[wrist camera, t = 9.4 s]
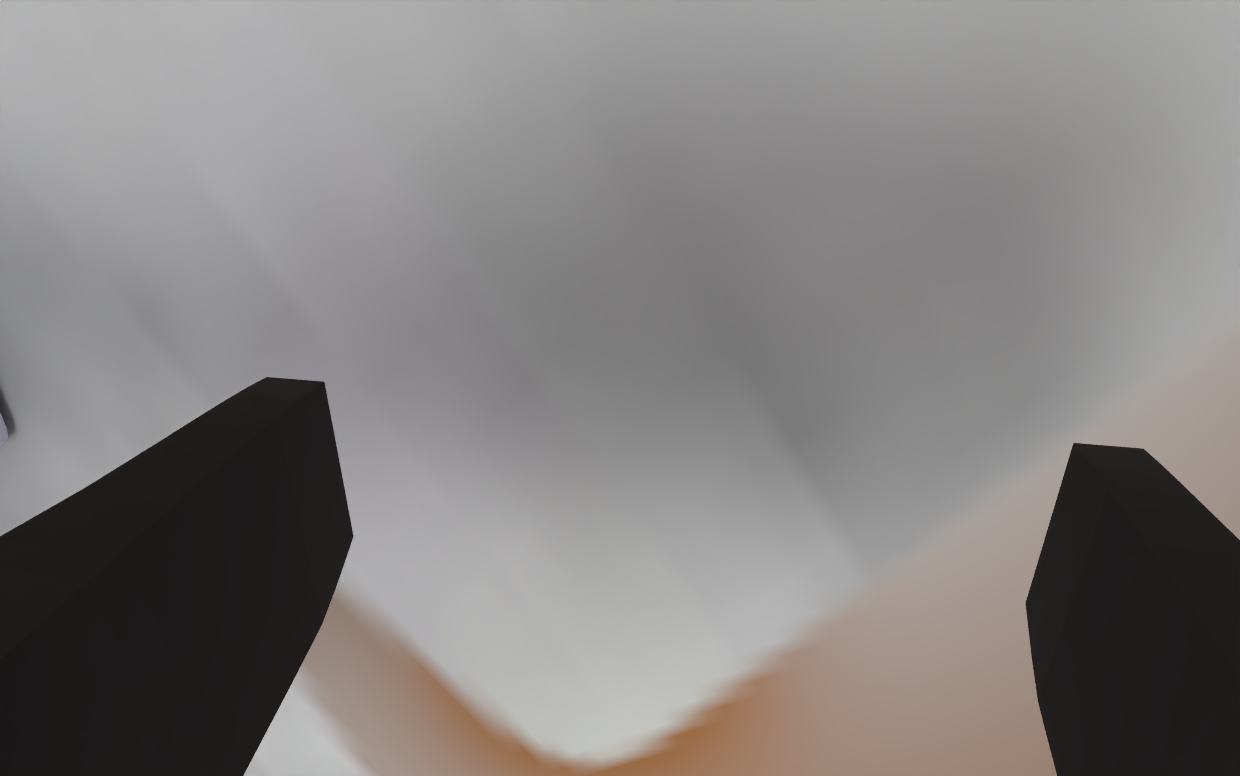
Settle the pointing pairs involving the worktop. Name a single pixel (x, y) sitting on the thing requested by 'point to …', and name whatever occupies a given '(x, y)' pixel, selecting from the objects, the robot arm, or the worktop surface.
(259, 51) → the worktop surface
